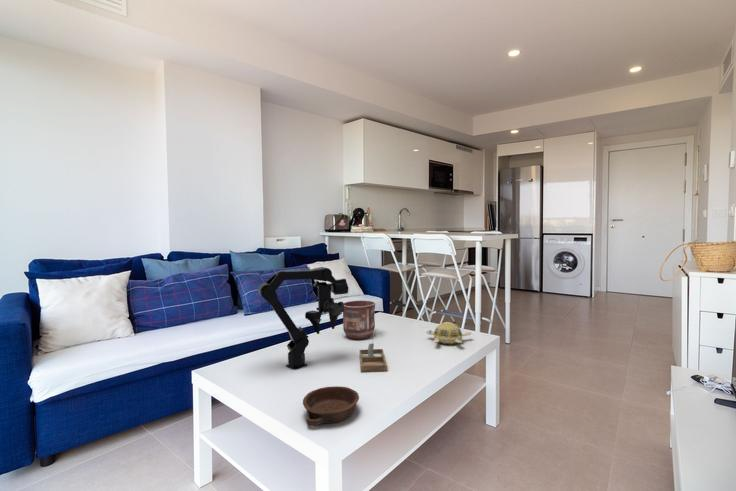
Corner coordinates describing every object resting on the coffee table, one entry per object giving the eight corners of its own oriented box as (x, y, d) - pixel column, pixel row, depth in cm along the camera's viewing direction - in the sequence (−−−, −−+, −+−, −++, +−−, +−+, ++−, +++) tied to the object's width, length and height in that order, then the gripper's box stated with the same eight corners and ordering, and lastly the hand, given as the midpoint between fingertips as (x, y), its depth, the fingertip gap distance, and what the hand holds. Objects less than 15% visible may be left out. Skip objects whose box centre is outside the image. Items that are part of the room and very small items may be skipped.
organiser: (387, 371, 148) (387, 365, 148) (360, 372, 148) (360, 366, 148) (382, 354, 169) (382, 348, 169) (359, 355, 168) (359, 349, 168)
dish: (286, 422, 111) (285, 406, 111) (330, 393, 130) (330, 379, 130) (333, 437, 102) (332, 420, 102) (373, 404, 121) (372, 389, 121)
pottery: (375, 341, 188) (375, 306, 188) (341, 341, 189) (340, 306, 188) (375, 332, 206) (375, 300, 205) (344, 332, 206) (343, 300, 206)
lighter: (368, 355, 166) (367, 337, 165) (371, 354, 166) (371, 337, 166) (370, 360, 159) (369, 342, 158) (374, 360, 159) (373, 342, 159)
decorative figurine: (458, 353, 168) (458, 331, 167) (415, 346, 179) (415, 326, 178) (474, 337, 190) (474, 318, 190) (435, 332, 201) (435, 314, 201)
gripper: (322, 301, 149) (323, 339, 150) (352, 294, 163) (353, 329, 164) (303, 298, 156) (304, 335, 156) (334, 292, 170) (335, 325, 171)
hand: (325, 331), depth 162 cm, fingers open, 9 cm apart
